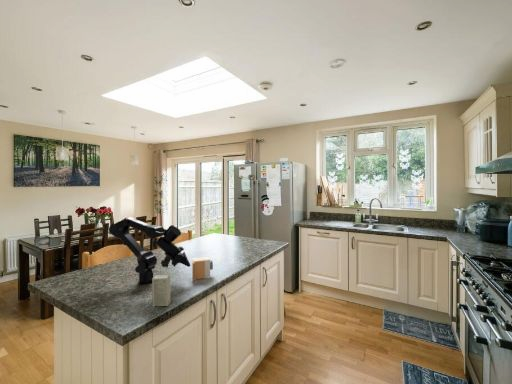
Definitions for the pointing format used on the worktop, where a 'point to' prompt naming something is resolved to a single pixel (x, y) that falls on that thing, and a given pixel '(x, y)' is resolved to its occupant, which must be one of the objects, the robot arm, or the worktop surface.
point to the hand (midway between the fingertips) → (189, 266)
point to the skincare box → (161, 290)
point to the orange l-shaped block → (198, 270)
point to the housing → (206, 265)
